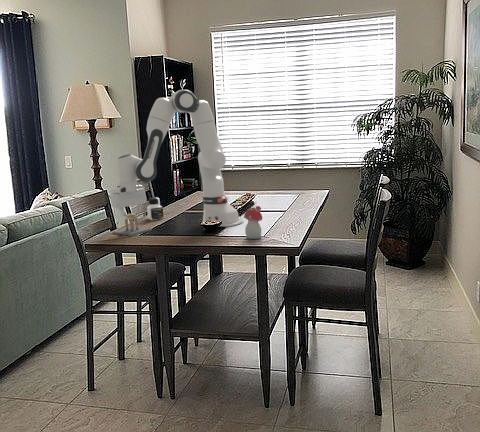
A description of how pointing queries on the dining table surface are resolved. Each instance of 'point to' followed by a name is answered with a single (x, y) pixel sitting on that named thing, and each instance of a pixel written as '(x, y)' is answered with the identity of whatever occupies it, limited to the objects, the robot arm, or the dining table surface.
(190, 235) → the dining table surface
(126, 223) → the mini stool
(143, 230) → the mat
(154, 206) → the medicine bottle
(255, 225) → the decorative ornament
